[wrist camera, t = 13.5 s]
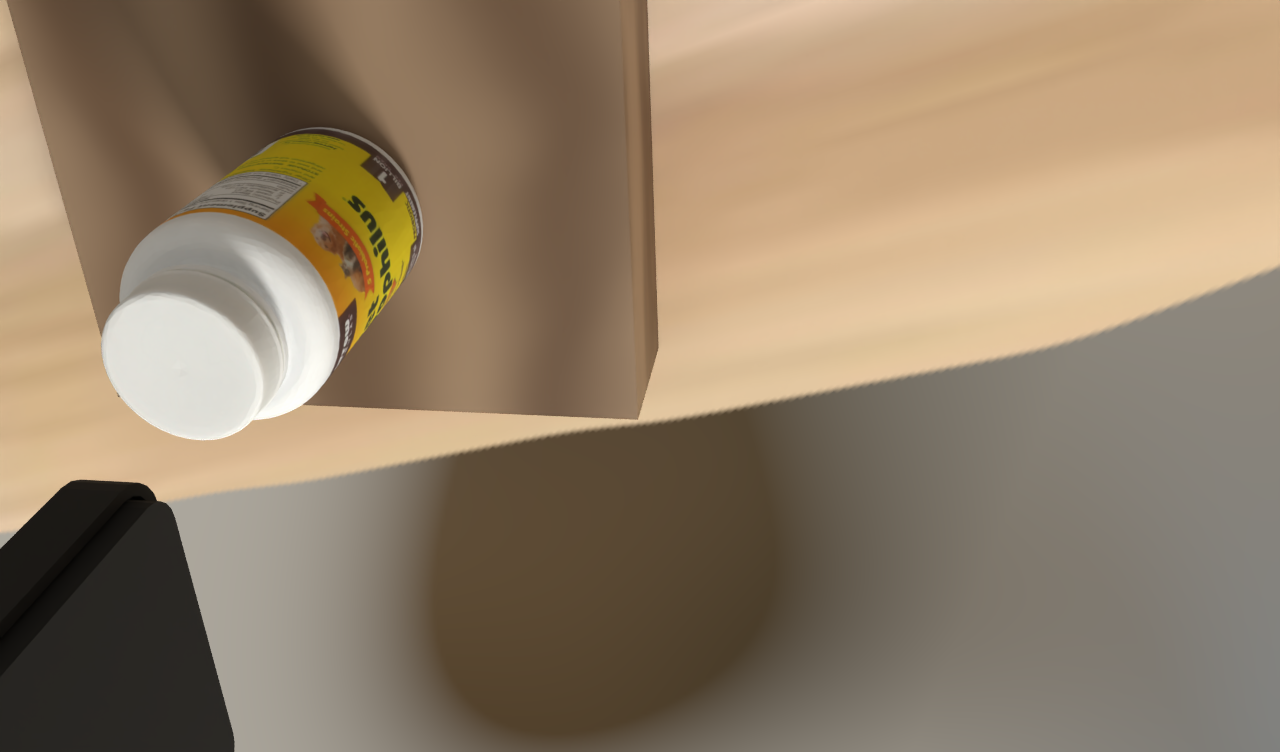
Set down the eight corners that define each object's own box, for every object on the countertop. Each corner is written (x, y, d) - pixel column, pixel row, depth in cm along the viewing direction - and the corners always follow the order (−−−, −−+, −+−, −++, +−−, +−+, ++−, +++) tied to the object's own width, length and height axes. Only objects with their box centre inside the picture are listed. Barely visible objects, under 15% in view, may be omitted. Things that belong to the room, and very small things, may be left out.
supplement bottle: (434, 301, 37) (307, 484, 29) (264, 283, 38) (89, 458, 29) (425, 127, 35) (282, 272, 26) (242, 110, 35) (41, 247, 27)
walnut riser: (644, -66, 36) (618, -35, 32) (658, 347, 43) (637, 419, 38) (93, -57, 39) (-2, -28, 34) (187, 331, 45) (118, 397, 41)
